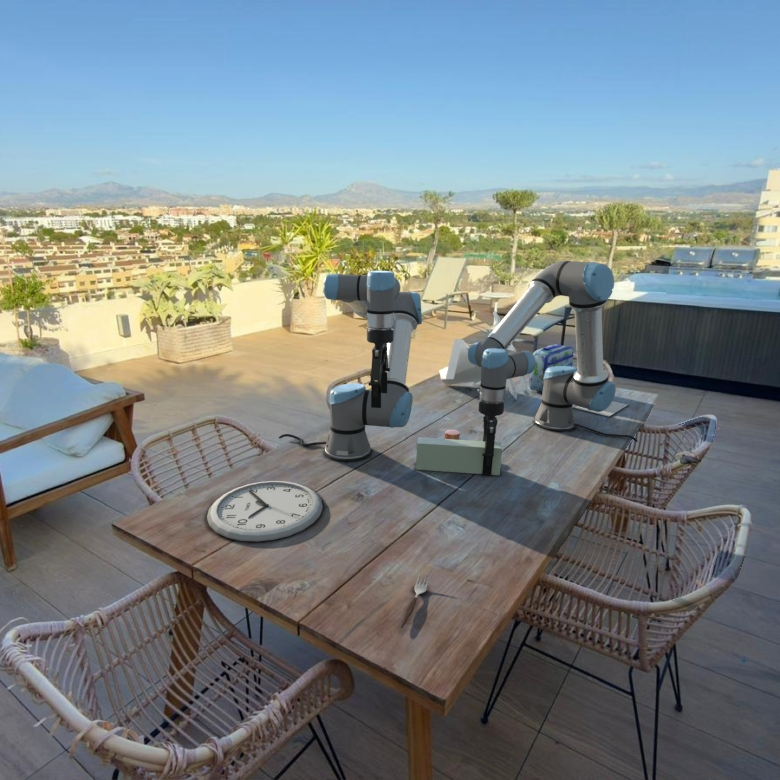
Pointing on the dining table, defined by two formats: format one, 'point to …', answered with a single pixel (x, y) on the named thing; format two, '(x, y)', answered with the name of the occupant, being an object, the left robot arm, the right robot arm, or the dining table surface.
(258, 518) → the wall clock
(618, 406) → the invitation card
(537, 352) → the lunch box
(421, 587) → the fork
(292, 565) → the dining table surface
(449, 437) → the orange cylinder puck
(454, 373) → the white plastic object
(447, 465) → the beam
